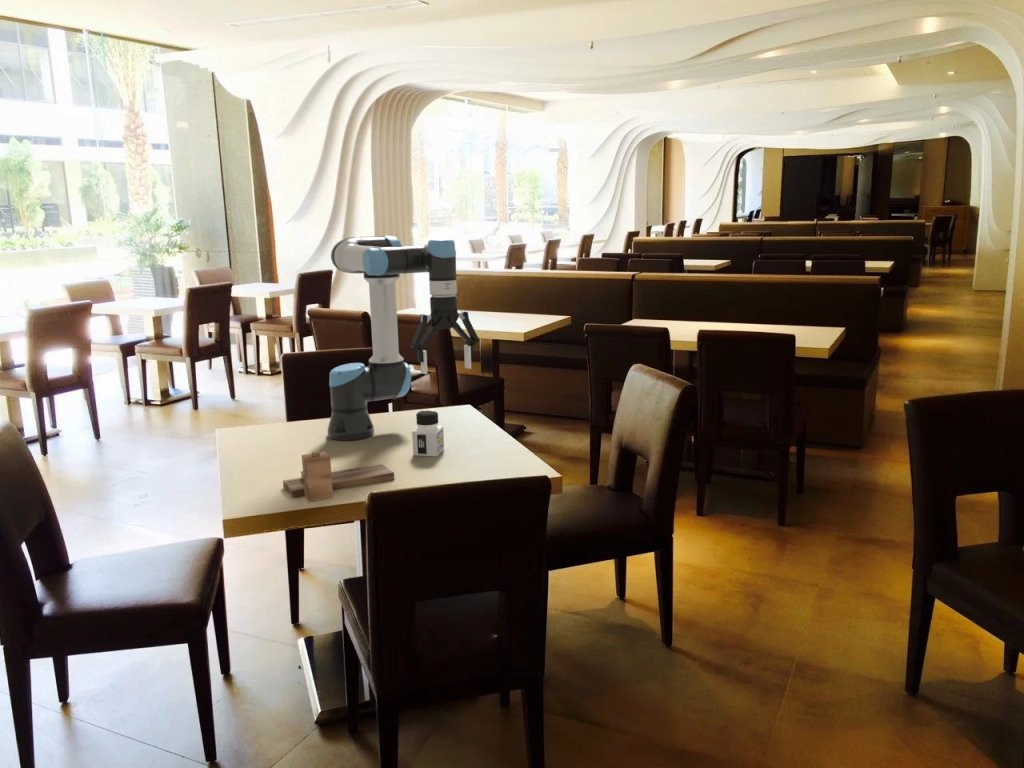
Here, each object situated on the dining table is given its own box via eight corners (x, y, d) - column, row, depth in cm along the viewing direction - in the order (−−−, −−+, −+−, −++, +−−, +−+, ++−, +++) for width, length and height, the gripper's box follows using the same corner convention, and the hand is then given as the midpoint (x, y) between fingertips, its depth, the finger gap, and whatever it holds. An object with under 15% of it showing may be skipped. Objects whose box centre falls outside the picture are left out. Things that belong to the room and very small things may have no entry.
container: (437, 456, 246) (435, 414, 244) (412, 455, 248) (410, 414, 245) (444, 449, 254) (442, 408, 251) (420, 448, 255) (418, 408, 253)
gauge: (295, 485, 222) (292, 444, 220) (317, 482, 225) (314, 440, 222) (310, 501, 210) (306, 457, 207) (333, 497, 213) (329, 453, 210)
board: (283, 487, 221) (282, 480, 221) (381, 469, 235) (381, 462, 234) (293, 498, 213) (292, 490, 212) (394, 479, 226) (393, 472, 226)
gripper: (406, 299, 218) (410, 378, 222) (489, 293, 230) (491, 367, 234) (396, 297, 224) (400, 373, 229) (477, 291, 236) (479, 363, 241)
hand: (446, 370), depth 232 cm, fingers open, 13 cm apart
